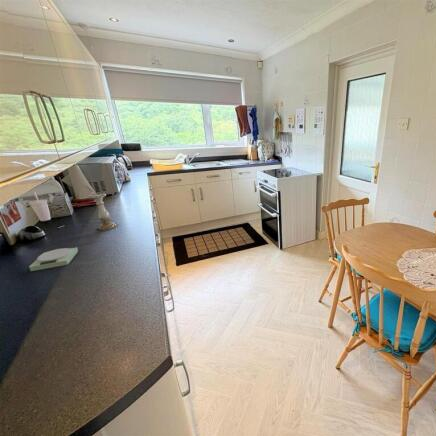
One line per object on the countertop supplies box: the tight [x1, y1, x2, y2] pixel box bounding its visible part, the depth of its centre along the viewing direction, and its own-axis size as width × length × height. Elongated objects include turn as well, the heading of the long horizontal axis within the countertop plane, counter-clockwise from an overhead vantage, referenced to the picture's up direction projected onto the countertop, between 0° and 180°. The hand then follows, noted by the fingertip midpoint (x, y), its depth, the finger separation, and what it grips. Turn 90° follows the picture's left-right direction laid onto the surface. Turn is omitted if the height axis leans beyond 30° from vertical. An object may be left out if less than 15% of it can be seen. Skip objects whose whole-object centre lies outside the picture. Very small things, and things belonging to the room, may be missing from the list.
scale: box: [28, 246, 79, 272], centre depth 103 cm, size 12×13×3 cm
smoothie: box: [27, 192, 52, 222], centre depth 111 cm, size 6×6×14 cm
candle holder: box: [88, 192, 117, 231], centre depth 134 cm, size 9×9×20 cm
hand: (39, 204), depth 111 cm, fingers closed on smoothie, 6 cm apart
